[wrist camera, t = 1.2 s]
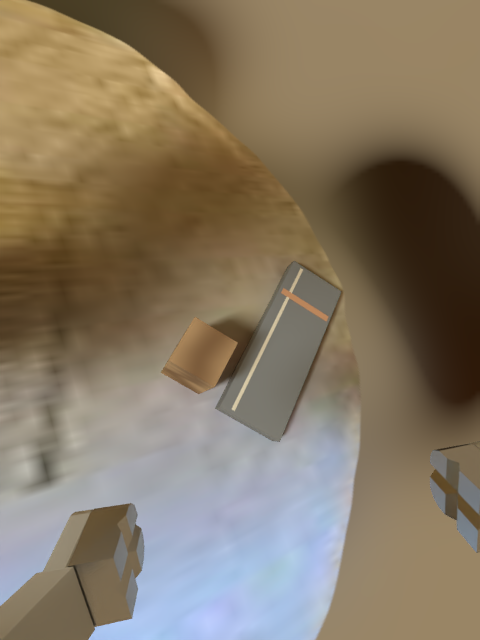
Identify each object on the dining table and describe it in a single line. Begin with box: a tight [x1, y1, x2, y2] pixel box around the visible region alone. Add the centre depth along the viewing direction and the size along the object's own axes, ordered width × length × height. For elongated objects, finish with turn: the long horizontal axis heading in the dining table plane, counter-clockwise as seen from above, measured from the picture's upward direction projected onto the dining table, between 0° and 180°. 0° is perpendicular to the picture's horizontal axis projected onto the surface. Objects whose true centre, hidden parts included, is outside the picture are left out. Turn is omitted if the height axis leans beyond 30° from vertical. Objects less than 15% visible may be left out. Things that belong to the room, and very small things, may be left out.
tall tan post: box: [161, 317, 238, 394], centre depth 37 cm, size 5×5×8 cm
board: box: [215, 261, 341, 442], centre depth 43 cm, size 8×22×2 cm, turn 153°
